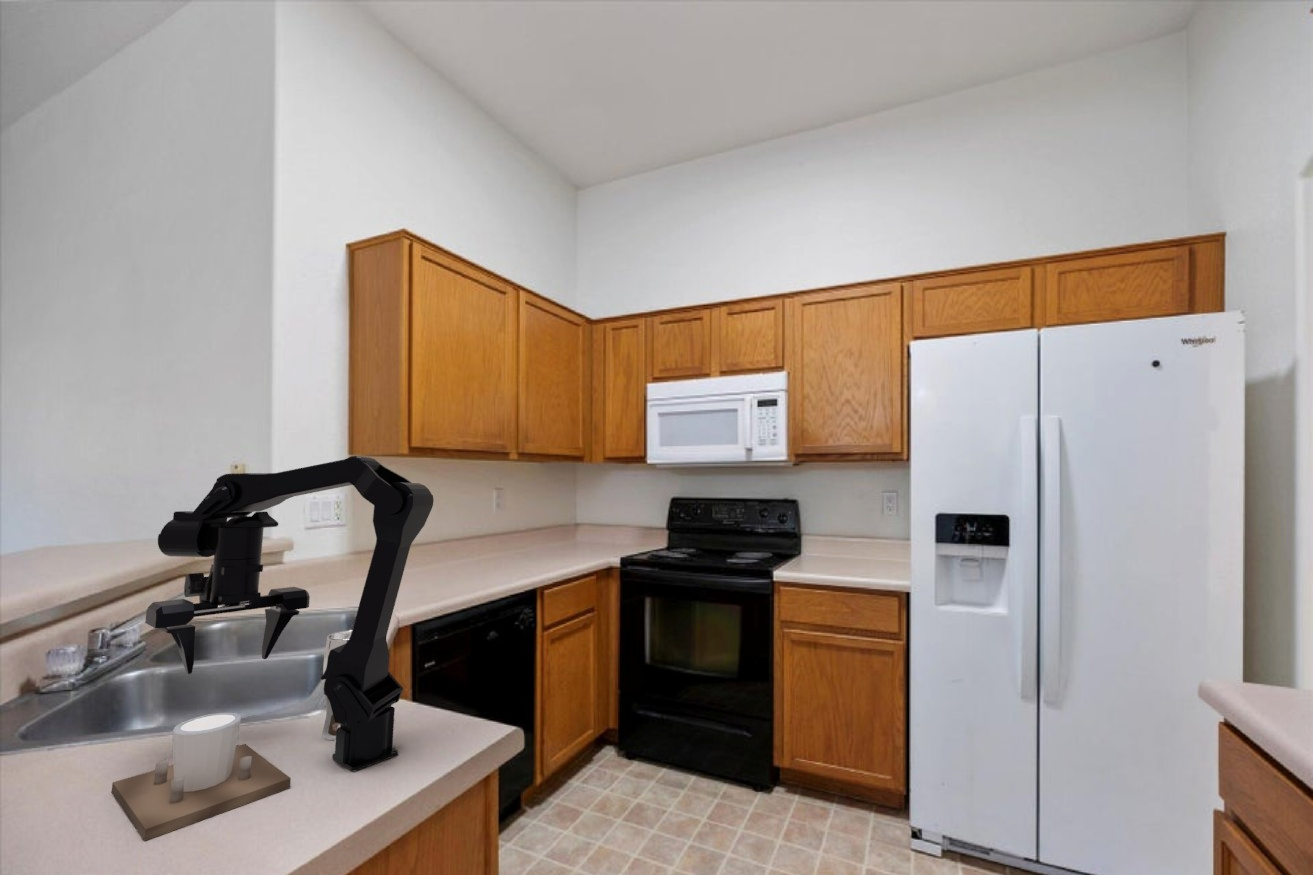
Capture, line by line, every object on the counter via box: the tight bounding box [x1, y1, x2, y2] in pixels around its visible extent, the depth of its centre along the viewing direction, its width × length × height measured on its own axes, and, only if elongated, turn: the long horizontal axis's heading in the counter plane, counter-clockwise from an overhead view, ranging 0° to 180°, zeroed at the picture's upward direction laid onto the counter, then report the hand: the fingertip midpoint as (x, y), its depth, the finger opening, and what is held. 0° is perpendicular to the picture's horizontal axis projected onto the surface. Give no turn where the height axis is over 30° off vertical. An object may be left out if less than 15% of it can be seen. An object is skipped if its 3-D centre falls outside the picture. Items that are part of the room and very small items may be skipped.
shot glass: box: [172, 712, 242, 792], centre depth 71 cm, size 7×7×7 cm
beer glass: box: [321, 629, 352, 741], centre depth 89 cm, size 7×7×15 cm
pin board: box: [111, 743, 292, 842], centre depth 71 cm, size 14×16×4 cm
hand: (228, 665), depth 82 cm, fingers open, 9 cm apart
